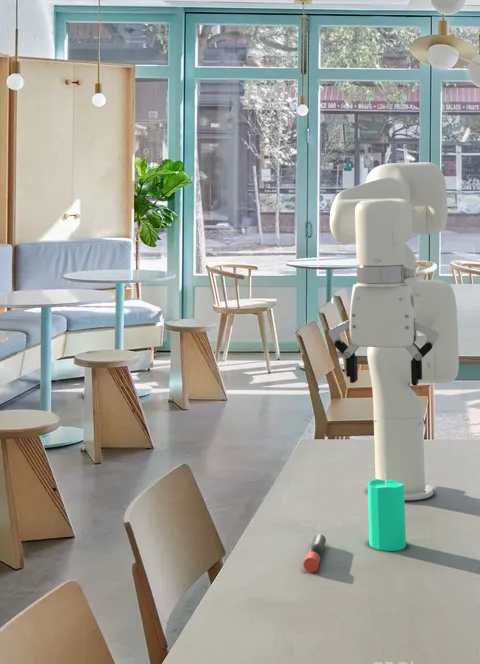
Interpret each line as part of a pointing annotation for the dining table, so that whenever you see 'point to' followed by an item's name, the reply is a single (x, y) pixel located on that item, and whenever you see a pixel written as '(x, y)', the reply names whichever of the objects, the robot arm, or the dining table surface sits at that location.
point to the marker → (314, 553)
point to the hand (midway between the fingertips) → (384, 382)
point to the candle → (386, 515)
